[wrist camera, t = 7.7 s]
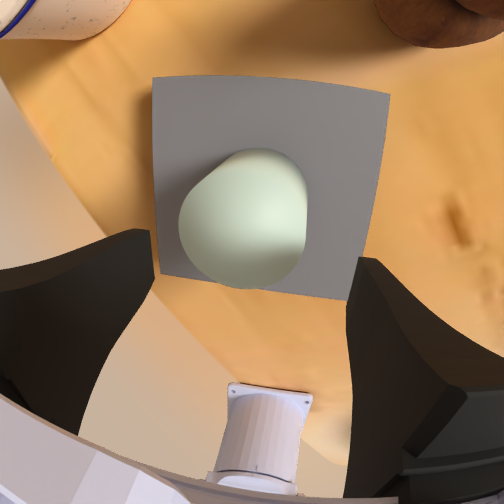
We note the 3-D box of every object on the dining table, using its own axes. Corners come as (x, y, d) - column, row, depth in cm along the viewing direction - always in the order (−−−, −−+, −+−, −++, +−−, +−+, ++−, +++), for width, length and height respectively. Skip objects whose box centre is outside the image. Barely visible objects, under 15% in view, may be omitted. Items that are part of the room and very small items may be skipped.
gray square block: (347, 275, 21) (350, 301, 19) (177, 252, 23) (160, 273, 20) (378, 93, 16) (390, 94, 13) (174, 78, 17) (152, 77, 15)
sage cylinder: (304, 241, 18) (300, 294, 13) (215, 234, 18) (184, 282, 14) (310, 149, 15) (309, 174, 11) (211, 146, 16) (173, 169, 12)
